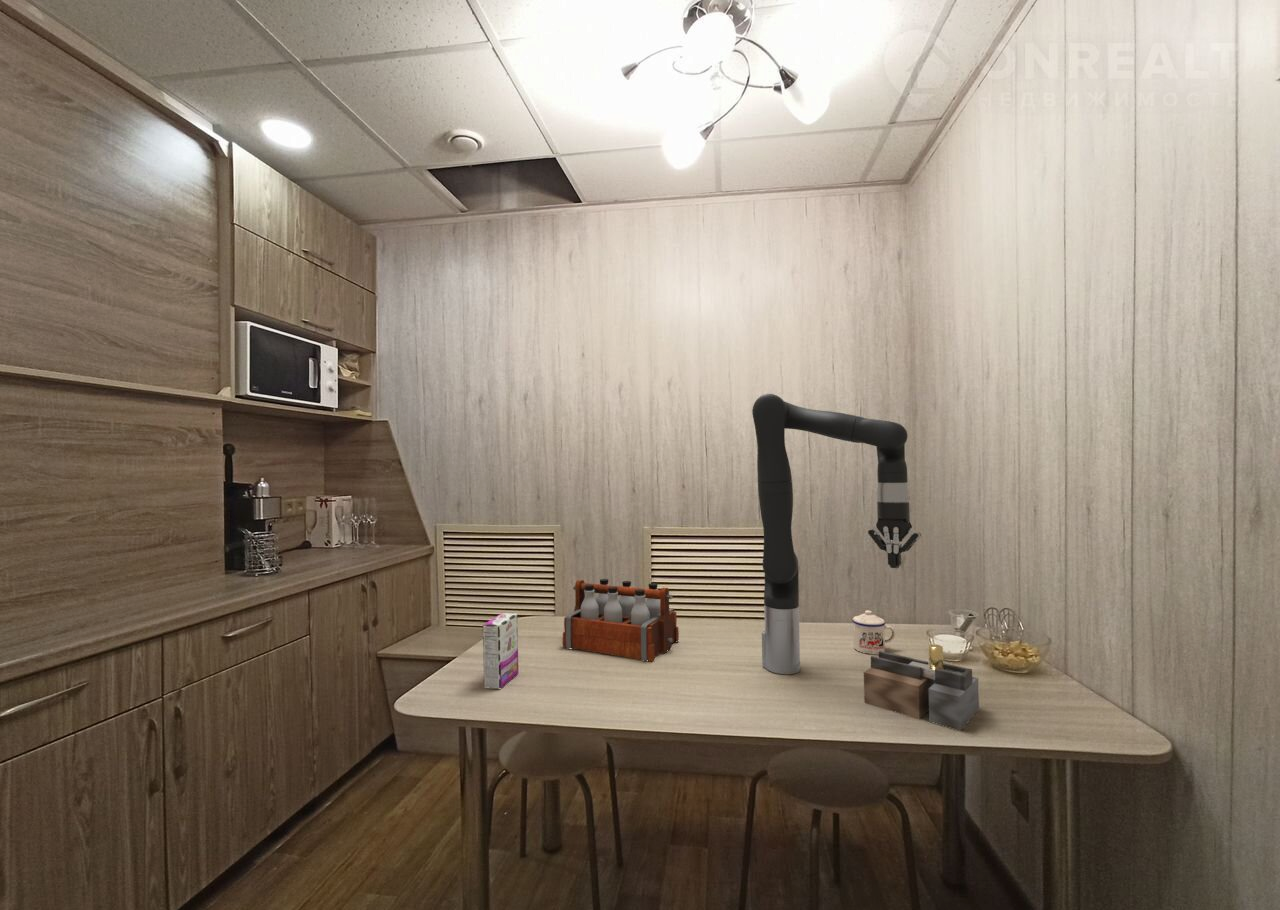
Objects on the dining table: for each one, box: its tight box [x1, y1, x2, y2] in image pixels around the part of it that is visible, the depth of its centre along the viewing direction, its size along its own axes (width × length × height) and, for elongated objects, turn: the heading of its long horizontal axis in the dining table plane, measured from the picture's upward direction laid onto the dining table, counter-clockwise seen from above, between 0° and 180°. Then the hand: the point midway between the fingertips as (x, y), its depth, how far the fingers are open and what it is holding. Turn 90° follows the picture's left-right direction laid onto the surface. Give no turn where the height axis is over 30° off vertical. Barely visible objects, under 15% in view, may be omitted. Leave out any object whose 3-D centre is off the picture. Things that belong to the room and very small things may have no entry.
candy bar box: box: [482, 612, 519, 689], centre depth 142 cm, size 11×5×16 cm, turn 168°
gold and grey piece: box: [909, 643, 963, 680], centre depth 122 cm, size 11×3×7 cm, turn 45°
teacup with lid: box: [851, 609, 896, 655], centre depth 162 cm, size 12×9×12 cm
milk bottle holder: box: [562, 578, 680, 662], centre depth 171 cm, size 21×35×19 cm, turn 64°
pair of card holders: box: [863, 651, 980, 732], centre depth 124 cm, size 20×14×10 cm
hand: (894, 567), depth 139 cm, fingers closed
